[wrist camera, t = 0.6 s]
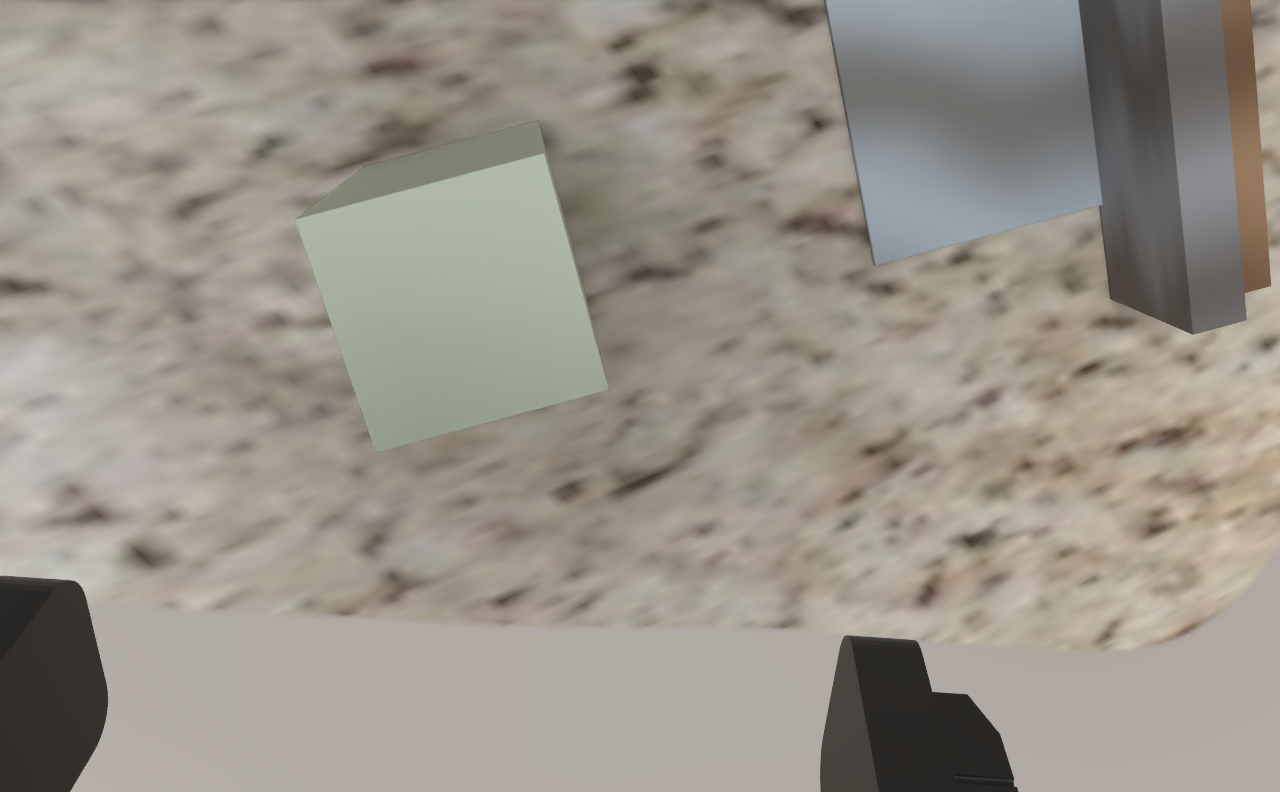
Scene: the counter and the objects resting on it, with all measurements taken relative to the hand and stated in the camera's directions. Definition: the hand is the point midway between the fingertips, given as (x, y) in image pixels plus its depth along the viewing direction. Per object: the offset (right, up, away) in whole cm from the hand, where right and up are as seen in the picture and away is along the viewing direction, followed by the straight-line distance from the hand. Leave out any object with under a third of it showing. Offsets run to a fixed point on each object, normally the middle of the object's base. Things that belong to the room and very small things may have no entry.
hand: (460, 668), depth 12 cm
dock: (+13, +12, +20) cm, 27 cm away
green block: (-3, +8, +20) cm, 22 cm away
